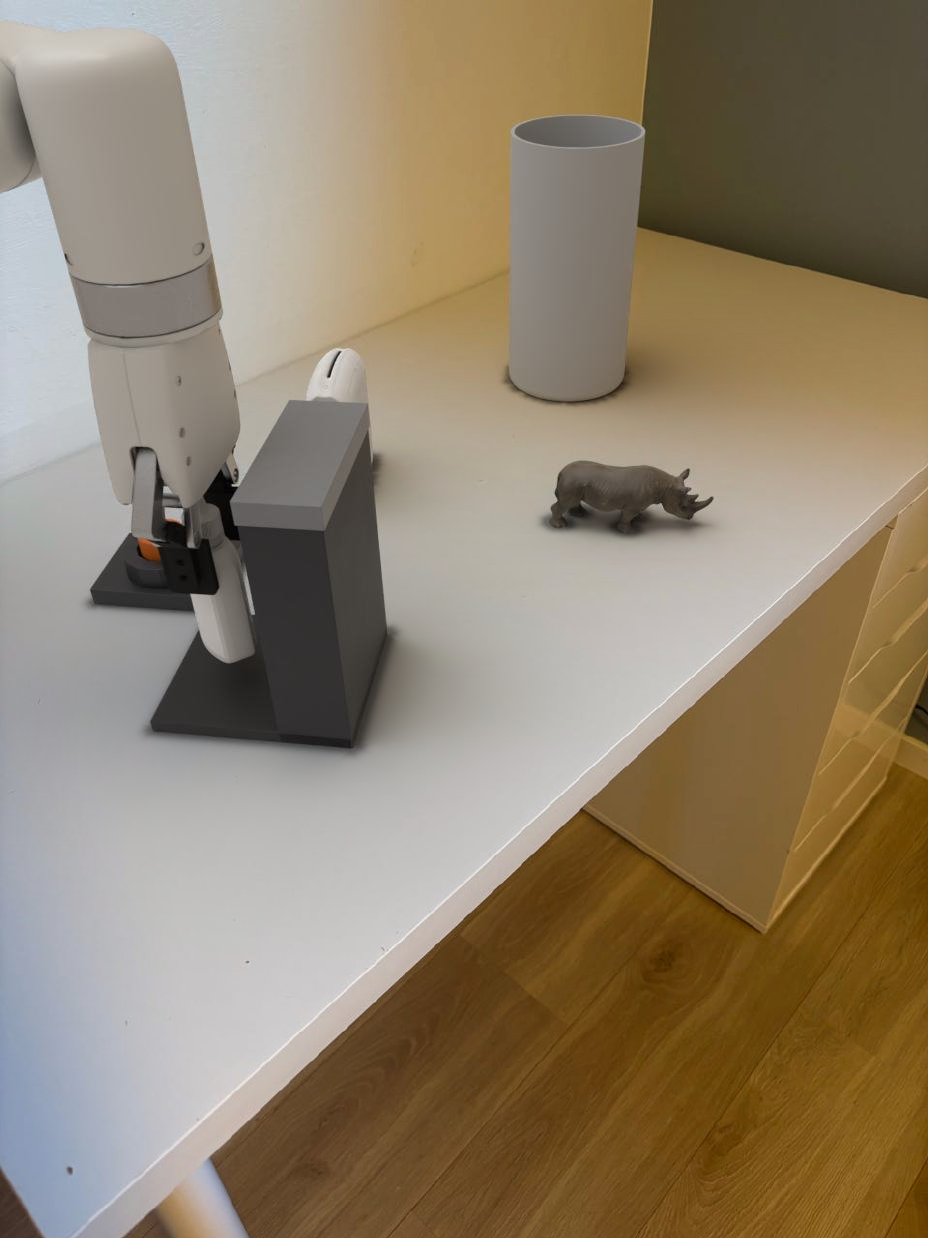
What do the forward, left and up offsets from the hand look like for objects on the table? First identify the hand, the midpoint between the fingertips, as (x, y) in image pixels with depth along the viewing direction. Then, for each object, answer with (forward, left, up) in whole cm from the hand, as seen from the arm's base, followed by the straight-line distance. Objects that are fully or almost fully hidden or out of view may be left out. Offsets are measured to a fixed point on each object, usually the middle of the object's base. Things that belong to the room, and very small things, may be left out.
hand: (210, 561), depth 65 cm
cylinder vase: (+21, +51, -11) cm, 56 cm away
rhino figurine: (+28, +23, -11) cm, 38 cm away
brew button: (-9, +11, -7) cm, 16 cm away
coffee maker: (+3, 0, -11) cm, 11 cm away
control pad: (-9, +11, -11) cm, 18 cm away
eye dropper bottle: (0, 0, -7) cm, 7 cm away
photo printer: (+2, +27, -11) cm, 29 cm away
